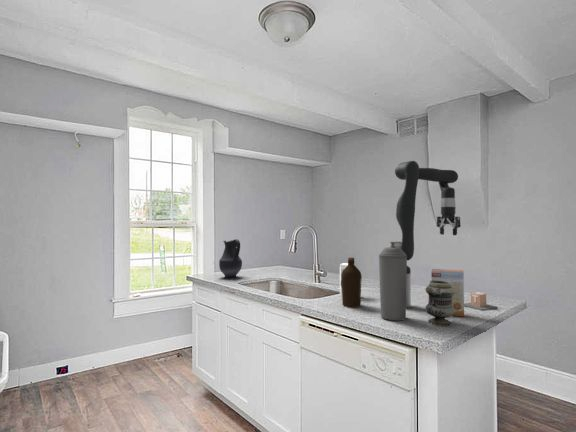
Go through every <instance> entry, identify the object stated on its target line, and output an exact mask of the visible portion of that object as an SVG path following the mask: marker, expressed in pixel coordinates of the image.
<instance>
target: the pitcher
mask: <svg viewBox="0 0 576 432" xmlns="http://www.w3.org/2000/svg"><path fill="white" fill-rule="evenodd" d="M223 243H224V249H223V252H222V255H221V258H220V259H219V260H218V261H219V263H218V265H219V269H220V270H219V271H220V272H221V273H222V274H223V275H224V279H226V278H229V279H228V280H231V279H230V278H234V279H237V278H238V276H237V275H238V274H239V273H240V271H241V270H242V266H243V260H242V259H241V257H240V251H241V241H240V240H239V239H237V238H236V239H235V238H234V239H231V240H228V241H226V240H223Z"/></svg>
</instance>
